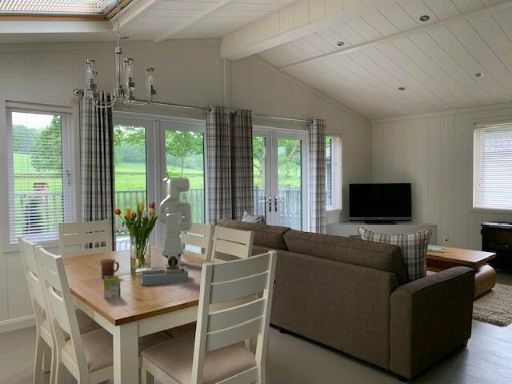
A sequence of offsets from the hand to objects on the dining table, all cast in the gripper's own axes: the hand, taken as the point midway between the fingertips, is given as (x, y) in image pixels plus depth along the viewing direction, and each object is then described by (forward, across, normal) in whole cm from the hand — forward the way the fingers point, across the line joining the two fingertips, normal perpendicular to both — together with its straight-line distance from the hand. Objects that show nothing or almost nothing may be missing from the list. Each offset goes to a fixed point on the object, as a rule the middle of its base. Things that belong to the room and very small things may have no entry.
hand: (172, 265), depth 233 cm
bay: (+9, +5, 0) cm, 10 cm away
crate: (+7, 0, 0) cm, 7 cm away
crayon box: (+9, +32, +25) cm, 42 cm away
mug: (+9, +36, -17) cm, 41 cm away
